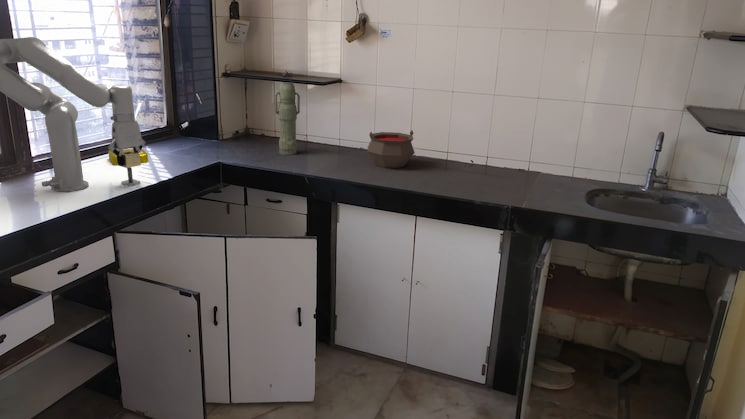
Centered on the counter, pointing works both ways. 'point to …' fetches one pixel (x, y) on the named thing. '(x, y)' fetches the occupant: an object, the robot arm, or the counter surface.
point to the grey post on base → (130, 179)
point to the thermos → (287, 118)
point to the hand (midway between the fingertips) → (129, 163)
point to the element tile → (142, 154)
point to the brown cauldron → (391, 149)
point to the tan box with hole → (131, 159)
